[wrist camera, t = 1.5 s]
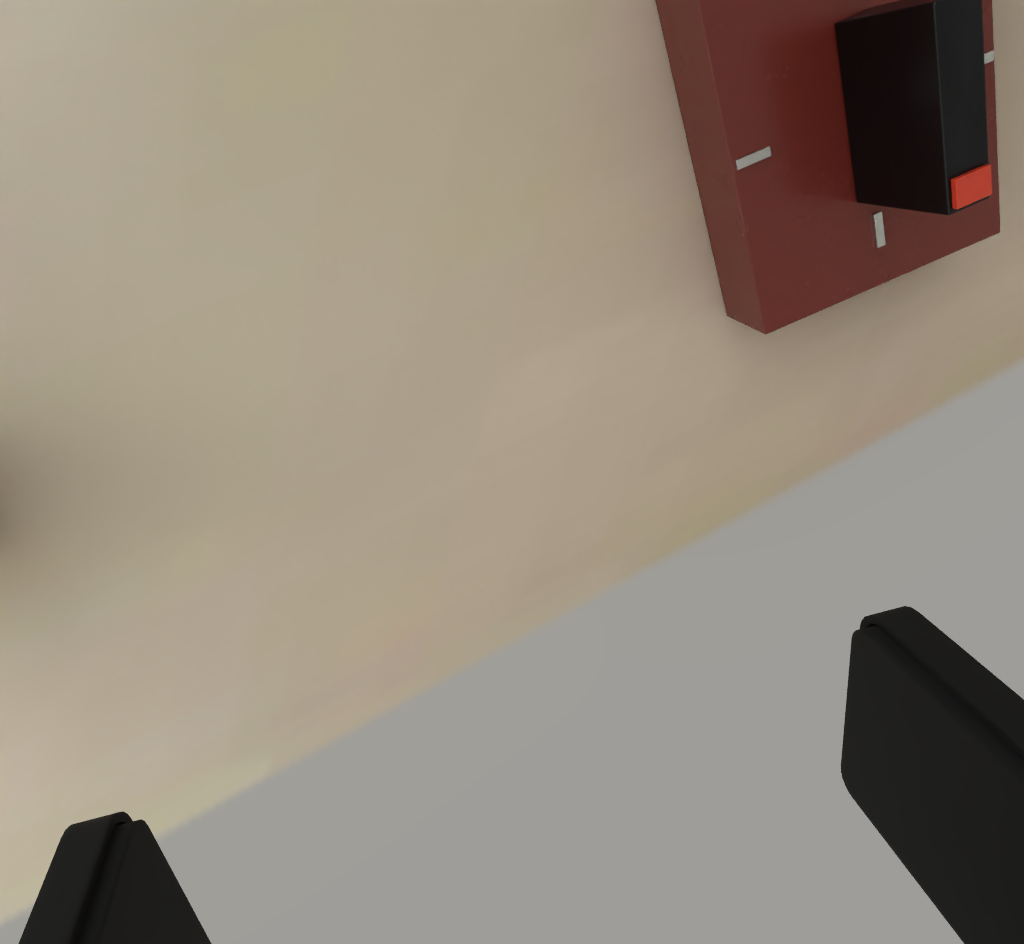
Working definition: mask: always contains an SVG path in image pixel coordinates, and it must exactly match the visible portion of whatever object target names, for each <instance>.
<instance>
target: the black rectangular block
mask: <svg viewBox="0 0 1024 944" xmlns="http://www.w3.org/2000/svg"><path fill="white" fill-rule="evenodd" d="M834 26H835V34H836V41H837V49H838V57H839V65H840V73H841V81H842V89H843V96H844V104H845V112H846V120H847V128H848V136H849V144H850V152H851V159H852V167H853V175H854V183H855V191H856V199H857V202H858V203H864V204H871V205H878V206H885V207H892V208H899V209H906V210H913V211H920V212H927V213H934V214H941V215H951V214H953V213H956V212H958V211H960V210H963V209H965V208H967V207H970V206H972V205H974V204H976V203H979V202H981V201H983V200H986V199H988V198H989V197H990V195H992V176H991V164H989V159H988V135H987V111H986V87H985V63H984V39H983V14H982V0H900V1H896V2H891V3H887V4H883V5H878V6H874V7H871V8H869V9H867V10H864V11H862V12H859V13H857V14H855V15H852V16H850V17H848V18H845V19H843V20H841V21H838V22H836V23H835V25H834Z"/></svg>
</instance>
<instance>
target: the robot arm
mask: <svg viewBox="0 0 1024 944" xmlns="http://www.w3.org/2000/svg"><path fill="white" fill-rule="evenodd" d="M841 773H842V778H843V780H844V783H845V786H846V787H847V790H848V791H849V793H850V794H851V796H852V798H853V799H854V800H855V801H856V803H857V804H858V805H859V807H860V808H861V809H862V811H863V812H864V813H865V815H866V816H867V817H868V818H869V820H870V821H871V822H872V824H873V825H874V826H875V828H877V830H878V831H879V833H880V834H881V835H882V837H883V838H884V839H885V841H886V842H887V843H888V845H889V846H890V847H891V848H892V850H893V851H894V852H895V854H896V855H897V856H898V858H899V859H900V860H901V862H902V863H903V864H904V865H905V867H906V868H907V869H908V871H909V872H910V873H911V875H912V876H913V877H914V878H915V880H916V881H917V882H918V884H919V885H920V886H921V888H922V889H923V890H924V892H925V893H926V894H927V895H928V897H929V898H930V899H931V901H932V902H933V903H934V904H935V906H936V907H937V909H938V910H939V911H940V912H941V914H942V915H943V916H944V918H945V919H946V920H947V922H948V923H949V924H950V926H951V927H952V928H953V929H954V931H955V932H956V933H957V935H958V936H959V937H960V939H961V940H962V941H963V942H964V944H1024V700H1023V699H1022V698H1021V697H1020V696H1019V695H1017V694H1016V693H1015V692H1014V691H1013V690H1011V689H1010V688H1009V687H1008V686H1007V685H1005V684H1004V683H1003V682H1002V681H1001V680H999V679H998V678H997V677H996V676H994V675H993V674H992V673H991V672H990V671H989V670H987V669H986V668H985V667H984V666H982V665H981V664H980V663H979V662H978V661H977V660H975V659H974V658H973V657H972V656H971V655H969V654H968V653H967V652H966V651H965V650H963V649H962V648H961V647H960V646H959V645H957V644H956V643H955V642H954V641H953V640H951V639H950V638H949V637H948V636H947V635H945V634H944V633H943V632H942V631H940V630H939V629H938V628H937V627H936V626H935V625H933V624H932V623H931V622H930V621H929V620H927V619H926V618H925V617H924V616H923V615H921V614H920V613H919V612H917V611H916V610H914V609H913V608H911V607H906V606H904V607H900V608H896V609H892V610H888V611H884V612H881V613H877V614H873V615H869V616H866V617H864V619H863V620H862V621H861V625H860V629H859V630H856V631H855V632H854V633H853V636H852V642H851V654H850V666H849V677H848V689H847V702H846V712H845V724H844V736H843V748H842V760H841ZM19 944H211V942H210V940H209V939H208V937H207V935H206V933H205V931H204V929H203V927H202V925H201V924H200V922H199V920H198V918H197V916H196V914H195V912H194V911H193V909H192V907H191V905H190V903H189V901H188V899H187V897H186V896H185V894H184V892H183V890H182V888H181V886H180V885H179V883H178V881H177V879H176V877H175V875H174V873H173V871H172V870H171V868H170V866H169V864H168V862H167V860H166V858H165V856H164V855H163V853H162V851H161V849H160V847H159V845H158V843H157V842H156V840H155V838H154V836H153V834H152V832H151V830H150V828H149V827H148V825H147V824H146V822H145V821H143V820H137V821H132V819H131V818H130V816H129V815H128V814H127V813H125V812H118V813H114V814H111V815H107V816H103V817H99V818H95V819H92V820H88V821H84V822H80V823H76V824H73V825H70V826H69V827H68V828H67V829H66V830H65V832H64V834H63V836H62V838H61V840H60V842H59V845H58V847H57V850H56V852H55V855H54V857H53V860H52V862H51V865H50V867H49V870H48V872H47V875H46V877H45V880H44V882H43V884H42V887H41V889H40V892H39V894H38V897H37V899H36V902H35V904H34V907H33V909H32V912H31V914H30V917H29V919H28V922H27V924H26V927H25V929H24V932H23V934H22V937H21V939H20V942H19Z"/></svg>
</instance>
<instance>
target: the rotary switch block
mask: <svg viewBox="0 0 1024 944" xmlns="http://www.w3.org/2000/svg"><path fill="white" fill-rule="evenodd" d="M896 1H900V0H656V4H657V9H658V13H659V18H660V22H661V26H662V31H663V35H664V40H665V44H666V48H667V53H668V57H669V62H670V66H671V70H672V75H673V79H674V84H675V88H676V92H677V97H678V101H679V106H680V110H681V115H682V119H683V123H684V128H685V132H686V137H687V141H688V145H689V150H690V154H691V159H692V163H693V167H694V172H695V176H696V181H697V185H698V189H699V194H700V198H701V203H702V207H703V211H704V216H705V220H706V225H707V229H708V233H709V238H710V242H711V247H712V251H713V255H714V260H715V264H716V269H717V273H718V277H719V282H720V286H721V291H722V295H723V299H724V304H725V308H726V313H727V316H729V317H731V318H733V319H735V320H737V321H739V322H741V323H743V324H745V325H747V326H749V327H751V328H754V329H756V330H758V331H760V332H762V333H764V334H768V333H770V332H772V331H775V330H777V329H779V328H782V327H784V326H786V325H788V324H791V323H793V322H795V321H798V320H800V319H802V318H804V317H807V316H809V315H811V314H814V313H816V312H818V311H820V310H823V309H825V308H827V307H830V306H832V305H834V304H837V303H839V302H841V301H843V300H846V299H848V298H850V297H853V296H855V295H857V294H859V293H862V292H864V291H866V290H869V289H871V288H873V287H876V286H878V285H880V284H882V283H885V282H887V281H889V280H892V279H894V278H896V277H898V276H901V275H903V274H905V273H908V272H910V271H912V270H914V269H917V268H919V267H921V266H924V265H926V264H928V263H931V262H933V261H935V260H937V259H940V258H942V257H944V256H947V255H949V254H951V253H953V252H956V251H958V250H960V249H963V248H965V247H967V246H969V245H972V244H974V243H976V242H979V241H981V240H983V239H986V238H988V237H990V236H992V235H995V234H997V233H999V232H1000V213H999V185H998V157H997V129H996V101H995V73H994V45H993V18H992V0H982V14H983V39H984V63H985V87H986V111H987V135H988V159H989V164H991V176H992V195H990V197H989V198H988V199H986V200H983V201H981V202H979V203H976V204H974V205H972V206H970V207H967V208H965V209H963V210H960V211H958V212H956V213H953V214H951V215H941V214H934V213H927V212H920V211H913V210H906V209H899V208H892V207H885V206H878V205H871V204H864V203H858V202H857V199H856V191H855V183H854V175H853V167H852V159H851V152H850V144H849V136H848V128H847V120H846V112H845V104H844V96H843V89H842V81H841V73H840V65H839V57H838V49H837V41H836V34H835V26H834V25H835V23H836V22H838V21H841V20H843V19H845V18H848V17H850V16H852V15H855V14H857V13H859V12H862V11H864V10H867V9H869V8H871V7H874V6H878V5H883V4H887V3H891V2H896Z"/></svg>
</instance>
